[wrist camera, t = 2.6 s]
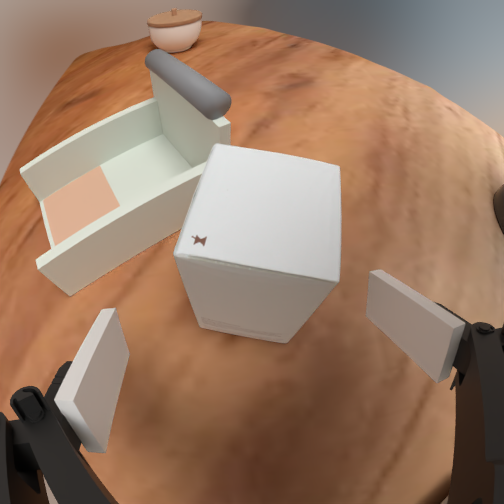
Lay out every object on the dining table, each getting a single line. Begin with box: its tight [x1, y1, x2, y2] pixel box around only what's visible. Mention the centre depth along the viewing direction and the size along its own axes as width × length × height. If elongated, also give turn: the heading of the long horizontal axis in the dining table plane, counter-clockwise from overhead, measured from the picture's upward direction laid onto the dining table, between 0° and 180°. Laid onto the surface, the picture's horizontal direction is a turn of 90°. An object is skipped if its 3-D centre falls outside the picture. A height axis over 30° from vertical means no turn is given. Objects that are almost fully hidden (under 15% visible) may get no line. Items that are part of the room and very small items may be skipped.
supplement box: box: [173, 143, 341, 343], centre depth 19 cm, size 7×7×13 cm
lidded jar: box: [147, 8, 202, 53], centre depth 44 cm, size 11×11×9 cm
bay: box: [20, 49, 231, 296], centre depth 23 cm, size 19×14×12 cm
